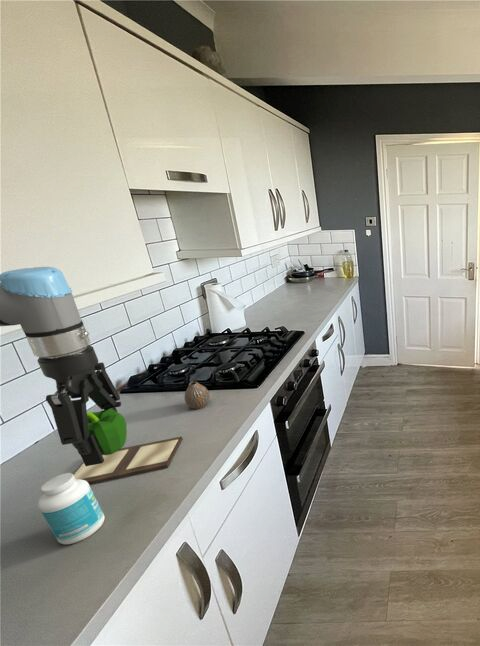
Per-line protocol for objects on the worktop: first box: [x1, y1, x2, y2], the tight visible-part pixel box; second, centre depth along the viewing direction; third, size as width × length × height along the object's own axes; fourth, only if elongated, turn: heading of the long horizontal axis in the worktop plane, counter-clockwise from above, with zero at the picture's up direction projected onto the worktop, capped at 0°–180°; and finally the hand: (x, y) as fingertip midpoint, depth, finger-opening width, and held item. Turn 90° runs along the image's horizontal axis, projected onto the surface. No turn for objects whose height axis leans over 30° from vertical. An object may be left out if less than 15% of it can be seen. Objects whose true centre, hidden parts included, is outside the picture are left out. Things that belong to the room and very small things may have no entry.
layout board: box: [72, 436, 184, 485], centre depth 93 cm, size 22×12×1 cm, turn 108°
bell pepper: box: [71, 408, 128, 455], centre depth 71 cm, size 8×8×10 cm
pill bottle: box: [37, 472, 106, 545], centre depth 72 cm, size 8×7×14 cm
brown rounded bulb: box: [183, 381, 210, 410], centre depth 116 cm, size 7×7×9 cm
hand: (107, 448), depth 73 cm, fingers closed on bell pepper, 8 cm apart
